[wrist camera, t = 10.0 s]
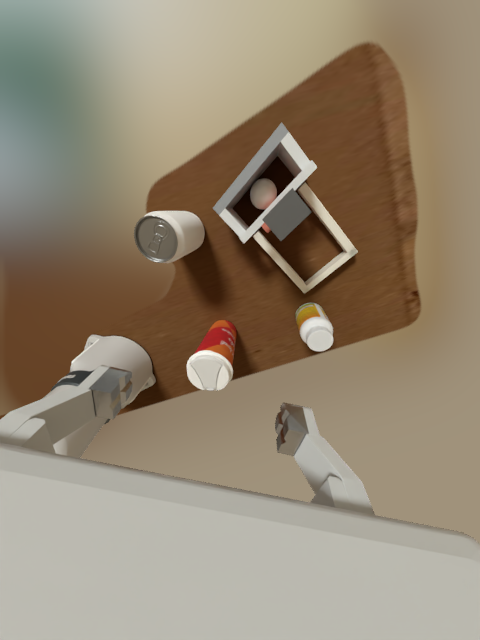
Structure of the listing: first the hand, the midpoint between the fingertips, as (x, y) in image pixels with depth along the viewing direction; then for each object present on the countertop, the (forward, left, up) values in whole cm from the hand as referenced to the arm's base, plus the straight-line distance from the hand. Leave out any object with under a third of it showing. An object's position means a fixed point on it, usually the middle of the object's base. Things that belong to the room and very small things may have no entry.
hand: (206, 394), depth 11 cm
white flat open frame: (+9, -4, -31) cm, 32 cm away
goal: (+9, +6, -31) cm, 33 cm away
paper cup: (-14, -6, -31) cm, 34 cm away
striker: (+9, +2, -31) cm, 32 cm away
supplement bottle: (+2, -15, -31) cm, 35 cm away
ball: (+9, +6, -29) cm, 31 cm away
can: (-4, +12, -31) cm, 33 cm away
